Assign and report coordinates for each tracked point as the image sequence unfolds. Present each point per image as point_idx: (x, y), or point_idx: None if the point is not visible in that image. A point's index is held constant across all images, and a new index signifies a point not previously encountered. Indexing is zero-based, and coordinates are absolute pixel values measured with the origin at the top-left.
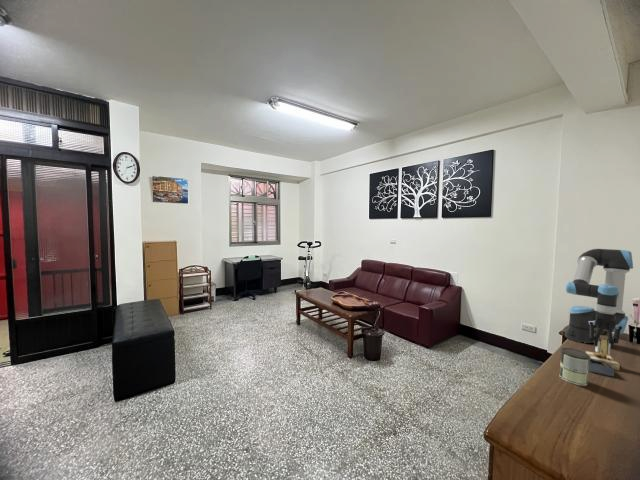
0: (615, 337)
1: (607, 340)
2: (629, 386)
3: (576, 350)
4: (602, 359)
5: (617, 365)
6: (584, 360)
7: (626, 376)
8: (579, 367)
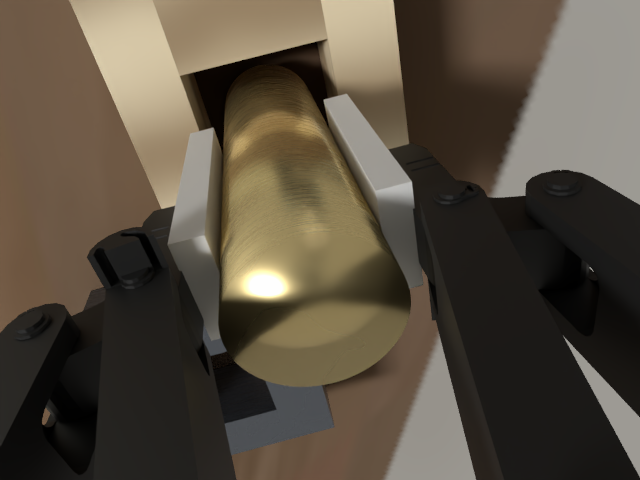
0: (614, 369)
1: (383, 349)
2: (380, 437)
3: None
4: None
5: None
6: None
7: (414, 288)
8: None
